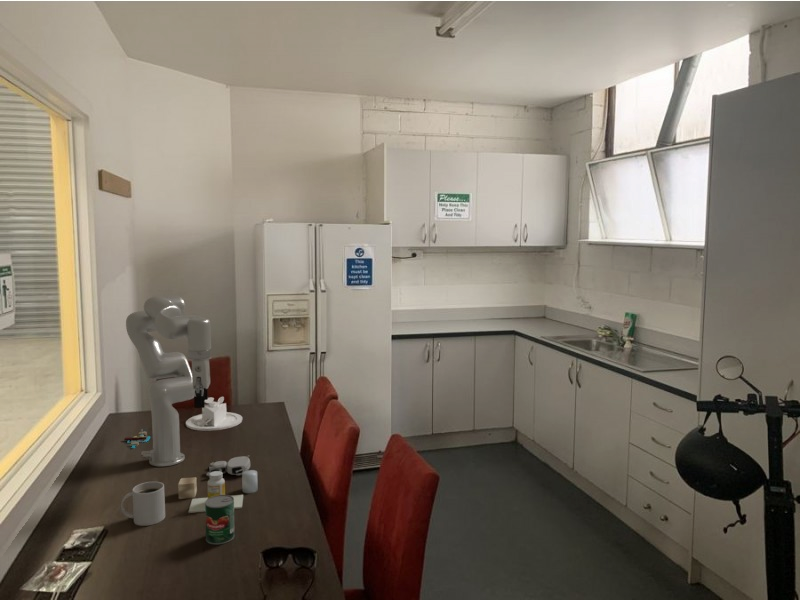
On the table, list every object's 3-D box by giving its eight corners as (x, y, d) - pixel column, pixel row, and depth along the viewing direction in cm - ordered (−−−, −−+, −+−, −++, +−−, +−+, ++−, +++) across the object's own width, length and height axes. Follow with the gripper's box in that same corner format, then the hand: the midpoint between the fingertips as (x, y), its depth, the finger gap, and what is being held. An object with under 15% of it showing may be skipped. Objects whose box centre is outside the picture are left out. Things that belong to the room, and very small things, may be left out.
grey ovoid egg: (242, 493, 197) (241, 476, 196) (242, 487, 202) (242, 470, 201) (257, 492, 198) (257, 475, 197) (257, 486, 203) (257, 469, 202)
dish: (186, 417, 281) (186, 394, 279) (241, 412, 288) (240, 390, 287) (184, 433, 257) (183, 408, 256) (243, 428, 265) (243, 403, 264)
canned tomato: (207, 547, 163) (206, 508, 162) (204, 533, 170) (203, 497, 169) (236, 541, 166) (235, 503, 165) (232, 528, 173) (231, 492, 172)
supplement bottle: (213, 507, 185) (213, 478, 184) (204, 502, 189) (203, 473, 188) (228, 501, 190) (228, 473, 189) (219, 497, 193) (218, 468, 192)
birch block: (178, 499, 193) (178, 484, 192) (181, 492, 198) (180, 478, 197) (194, 497, 194) (194, 483, 193) (196, 491, 199) (196, 477, 198)
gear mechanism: (118, 451, 237) (142, 449, 238) (117, 438, 236) (142, 436, 238) (131, 434, 256) (154, 433, 258) (130, 422, 256) (153, 421, 257)
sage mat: (188, 512, 183) (188, 511, 183) (192, 500, 192) (192, 498, 192) (241, 508, 186) (241, 506, 186) (243, 496, 195) (243, 494, 195)
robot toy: (205, 483, 207) (249, 477, 210) (204, 471, 207) (248, 465, 209) (210, 470, 219) (252, 464, 222) (209, 458, 219) (251, 453, 221)
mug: (171, 514, 182) (170, 483, 181) (149, 529, 173) (147, 496, 172) (143, 509, 185) (142, 478, 184) (120, 523, 176) (118, 490, 175)
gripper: (208, 359, 193) (210, 410, 195) (213, 349, 210) (215, 396, 211) (184, 360, 191) (186, 411, 193) (191, 350, 208) (193, 397, 210)
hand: (201, 403), depth 202 cm, fingers open, 9 cm apart
